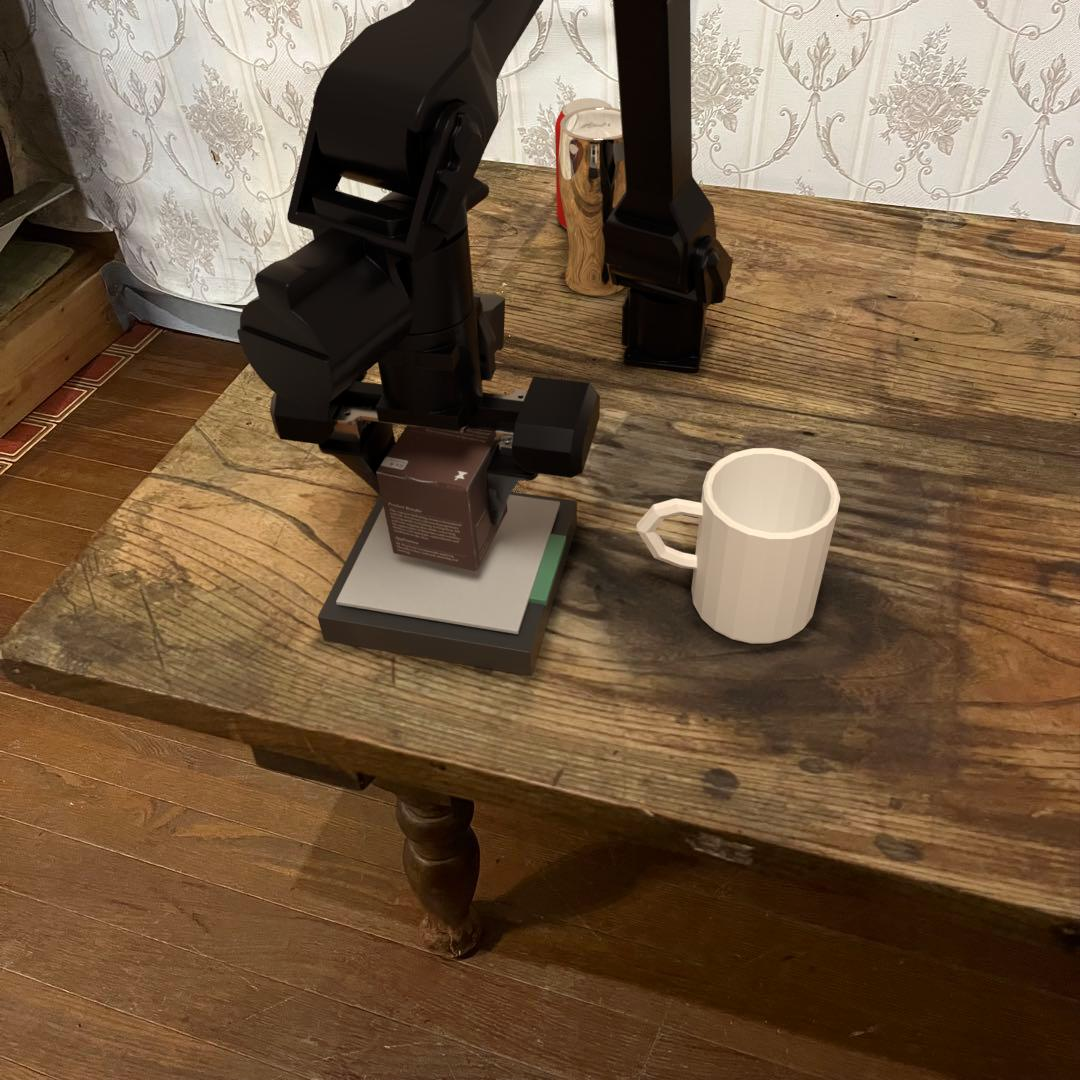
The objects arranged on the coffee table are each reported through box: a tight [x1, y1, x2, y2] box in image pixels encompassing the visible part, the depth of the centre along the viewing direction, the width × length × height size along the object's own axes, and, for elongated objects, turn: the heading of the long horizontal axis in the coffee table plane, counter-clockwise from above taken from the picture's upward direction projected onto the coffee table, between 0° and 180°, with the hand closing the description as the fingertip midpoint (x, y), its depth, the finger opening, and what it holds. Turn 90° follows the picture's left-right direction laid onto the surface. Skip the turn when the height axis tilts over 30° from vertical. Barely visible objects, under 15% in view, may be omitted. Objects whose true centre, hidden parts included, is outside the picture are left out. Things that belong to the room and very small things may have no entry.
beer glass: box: [559, 107, 626, 297], centre depth 93 cm, size 7×7×15 cm
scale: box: [317, 491, 578, 677], centre depth 70 cm, size 14×14×3 cm
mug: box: [635, 447, 841, 645], centre depth 66 cm, size 8×12×10 cm
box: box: [376, 425, 508, 572], centre depth 65 cm, size 6×6×7 cm
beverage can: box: [554, 97, 613, 230], centre depth 101 cm, size 6×6×12 cm
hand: (449, 513), depth 67 cm, fingers closed on box, 6 cm apart
